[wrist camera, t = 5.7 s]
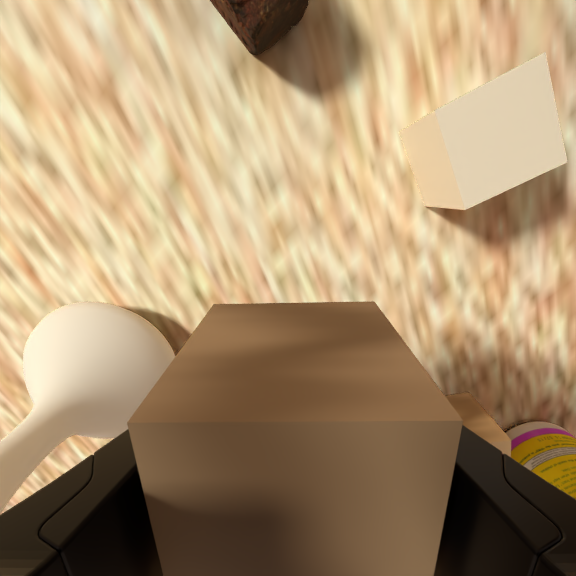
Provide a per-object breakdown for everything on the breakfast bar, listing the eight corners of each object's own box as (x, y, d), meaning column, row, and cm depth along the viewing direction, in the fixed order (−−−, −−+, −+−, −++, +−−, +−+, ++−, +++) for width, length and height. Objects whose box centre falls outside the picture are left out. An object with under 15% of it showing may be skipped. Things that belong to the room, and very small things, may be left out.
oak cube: (468, 391, 24) (511, 440, 19) (469, 439, 25) (509, 495, 21) (406, 400, 24) (433, 450, 20) (410, 447, 26) (437, 504, 21)
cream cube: (477, 90, 18) (545, 51, 13) (498, 170, 19) (567, 162, 14) (398, 132, 18) (434, 110, 14) (423, 206, 20) (465, 210, 15)
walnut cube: (374, 301, 9) (463, 420, 4) (365, 431, 11) (424, 625, 6) (214, 304, 9) (127, 423, 4) (227, 432, 11) (174, 623, 6)
